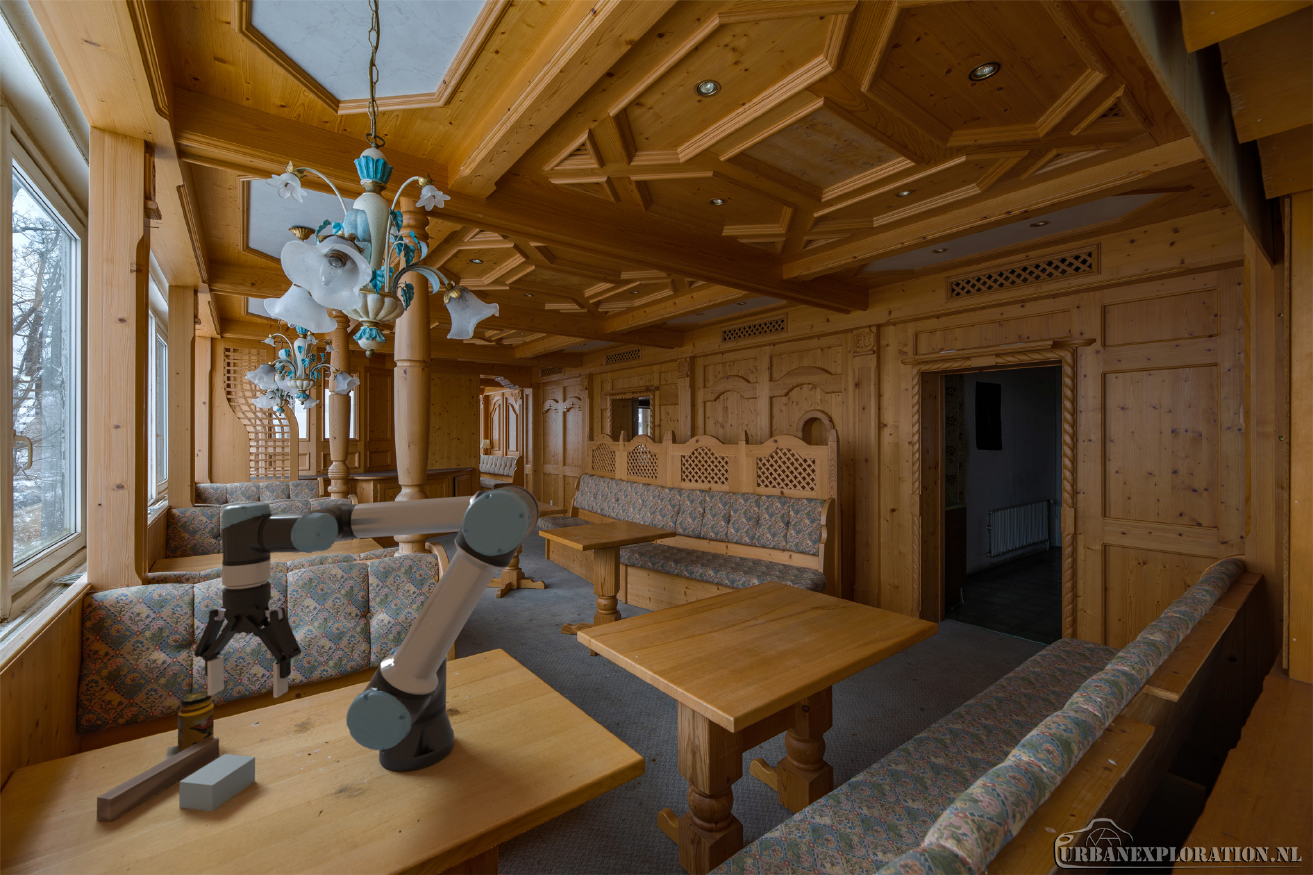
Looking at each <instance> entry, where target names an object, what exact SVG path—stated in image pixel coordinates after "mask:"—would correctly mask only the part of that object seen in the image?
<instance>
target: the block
mask: <svg viewBox="0 0 1313 875" xmlns="http://www.w3.org/2000/svg"><path fill="white" fill-rule="evenodd" d="M255 781H256V756H250V755H249V756H248V755H239V754H228V753H224V754H222V755H221V756H219V757H218V758H217V759H215V760H213V761H212V762H210V763H208V764H207V765H205V766H203V767H202V768H200V769H198V770H197V771H195V772H193V773H191V774H190V775H188V776H186V777H185V778H183V779H181V780H180V781H179V798H178V799H179V804H178V805H179V808H181V809H188V810H197V811H206V812H214V811H215V810H216V809H218V808H219V807H220V806H222V805H223V804H225V803H226V802H228V801H229V800H230V799H232V798H233V797H234V796H236V795H238V794H239V793H240V792H242V791H243V790H244V789H246V788H247V787H249V786H251V785H252V784H253V783H255Z"/></svg>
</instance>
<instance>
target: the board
mask: <svg viewBox="0 0 1313 875" xmlns="http://www.w3.org/2000/svg"><path fill="white" fill-rule="evenodd" d="M219 757H220V738H218V737H217V738H210V737H207V738H205V739H203V740H201V741H200V742H198V743H196V744H194V745H192V746H190V747H189V748H187V749H185V750H183V751H181V752H179V753H177V754H176V755H174V756H172V757H170V758H168V759H166V760H165V761H163V760H162V761H161V762H159V763H157V764H156V765H154V766H152V767H150V768H148V769H147V770H144V771H142V772H141V773H139V774H137V775H135V776H133V777H132V778H130V779H128V780H126V781H124V782H122V783H120V784H119V785H117V786H115V787H113V788H111V789H110V790H108V791H105V792H104V793H102V794H100V795H99V796H97V797H96V820H98V821H104V822H110V823H111V822H112V821H114V820H116V819H117V818H119V817H120V816H123V814H126V813H127V812H129V811H131V810H132V809H134V808H136V807H137V806H139V805H141V804H143V803H144V802H146V801H147V799H148V800H149V799H151V798H153V797H154V796H156V795H158V794H159V793H161V792H163V791H164V790H166V789H168V788H169V787H171V786H172V785H175V784H176V783H178V782H180V781H182V780H183V779H185V778H186V777H188V776H190V775H191V774H193V773H195V772H196V771H198V770H199V769H201V768H203V767H204V766H206V765H208V764H209V763H211V762H212V761H214V760H216V759H217V758H219ZM165 788H166V789H165ZM162 790H163V791H162ZM153 795H154V796H153Z"/></svg>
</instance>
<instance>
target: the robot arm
mask: <svg viewBox="0 0 1313 875" xmlns="http://www.w3.org/2000/svg"><path fill="white" fill-rule="evenodd" d="M221 516H222V517H221V518H222V519H221V527H220V531H221V533H220V534H221V546H222V548H221V549H222V561H221V565H222V566H221V567H222V568H221V569H222V572H221V574H222V576H221V580H222V581H221V584H222V585H223V586H224V588H222V591H221V592H222V595H221V600H222V606H219V607H215V608H213V609H210V610H209V613H208V621H207V623H206V626H205V628H204V631H203V633H202V634H201V636H200V639H199V642H198V644H197V646H196V647H195V650H194V653H193V656H194V657H195V658H199V657H200V658H202V660H203V661H204V670H205V671H204V675H205V677H207V691H208V695H210V696H211V695H212V696H213V695H216V694H217V693H219V692H221V691H223V690H224V689H225V688H224V687H225V679H224V678H225V676H224V675H225V672H224V671H225V669H224V667H225V666H224V665H225V664H224V658H225V657H224V655H222V654H223V653H222V651H223V650H224V649H225V647H226V646H227V645H229V642H230V641H231V640H232V639H233V637H234V636H235V635H236V634H241V633H244V634H247V635H248V634H249V635H250V634H253V635H254V636H255V637H258V638H259V640H261V642H262V643H263V645H264V646H265V647H266V649H267V650H268V651H269V652H270V653H271V655H272V656H273V657H274V659H275V660H276V661H275V662H273V663H272V672H273V676H272V682H273V685H272V686H273V687H272V688H273V690H272V691H273V693H272V694H273V697H272V698H275V699H276V698H279V697H280V696H283V695H284V694H285V693H287V692H289V677H290V676H291V673H292V670H291V669H292V659H293V658H295V657H298V656H299V655H301V654H302V649H301V647H300V645H299V643H298V641H297V639H296V637H295V634H294V633H293V630H292V627H291V626H290V624H289V622H288V619H287V616H286V615H287V614H286V609H285V607H283V606H281V607H278V608H275V609H270V607H269V603H270V601H271V600H272V599H271V598H272V582H270V581H269V580H270V579H271V578H272V577H271V573H272V572H271V555H272V554H273V553H275V554H276V553H305V554H312V553H314V552H315V553H316V552H317V553H318V552H325V551H328V550H329V549H331V548H332V547H333V545H334V544H335V543H336V541H341V540H342V541H343V540H344V541H345V540H355V539H367V538H378V537H381V538H382V537H392V536H393V537H395V536H396V537H397V536H411V535H422V534H436V533H437V534H438V533H452V532H453V533H454V532H458V533H457V535H456V536H455V538H454V544H455V548H456V552H455V554H454V555H453V557H452V559H451V561H450V562H449V563H448V566H447V567H446V568H445V570H444V572H443V574H442V575H441V576H440V579H439V580H438V582H437V583H436V586H434V589H433V591H432V592H431V593H430V596H429V597H428V599H427V601H426V602H425V604H424V606H423V607H422V609H421V611H419V614H418V616H417V618H416V619H415V621H414V622H413V624H412V626H411V628H410V629H409V631H408V632H407V634H406V636H405V637H404V640H403V641H402V642H401V644H400V645H399V646H396V647H394V648H392V649H391V650H390V651H389V654H388V656H386V657H385V658H383V660H381V663H380V664H379V665H378V667H377V669H376V670H375V672H374V674H373V676H372V677H371V679H370V681H369V682H368V684H367V685H366V686H365V688H364V689H363V691H362V692H360V693H358V694H357V696H355V698H354V699H353V701H352V702H351V703H350V705H349V706H348V709H347V712H346V718H345V720H346V727H347V728H348V730H349V734H350V736H351V737H352V738H353V740H354V741H355V742H356V743H357V744H359V745H360V746H362V747H363V748H366V749H368V750H372V751H378V761H379V764H380V765H381V766H382V767H383V768H384V769H387V770H390V771H395V772H397V771H398V772H406V771H414V770H420V769H423V768H427V767H429V766H431V765H434V764H436V763H438V762H440V761H441V760H443V759H445V758H446V757H447V756H448V755H450V753H451V752H452V750H453V749H454V747H455V746H454V745H455V733H454V729H453V727H452V724H451V721H450V719H449V716H448V712H447V664H448V663H447V661H448V657H447V655H448V654H449V651H450V650H451V648H452V646H453V645H454V642H456V640H457V638H458V636H459V635H460V633H461V632H462V630H463V628H464V626H465V625H466V624H467V623H466V622H467V621H468V619H469V618H470V616H471V615H472V613H473V611H474V609H475V607H476V606H477V604H478V603H479V601H480V599H481V597H482V596H483V594H484V592H485V591H486V589H487V588H488V586H489V584H490V582H491V581H492V579H493V577H494V575H495V574H496V572H497V571H500V570H503V569H507V568H508V567H509V565H510V563H511V562H512V560H513V558H514V557H515V555H516V553H517V552H518V550H519V549H520V547H521V545H522V544H523V542H524V540H525V538H527V536H529V535H530V534H531V533H532V531H533V530H534V529H535V528H536V526H537V525H538V522H539V519H540V505H539V501H538V500H537V498H536V497H535V495H534V494H533V493H532V492H531V491H530V490H528V489H527V488H525V487H523V486H519V485H507V486H502V487H500V488H495V489H494V488H493V489H488V490H486V489H485V490H478V491H477V492H476V493H475V494H474V495H466V496H465V495H464V496H454V497H453V496H452V497H438V498H437V497H436V498H422V499H409V500H408V499H407V500H397V501H396V500H394V501H393V500H391V501H381V502H365V503H354V504H353V503H347V502H346V503H345V502H344V503H337V504H332V505H330V506H326V507H322V508H321V507H320V508H318V509H317V508H316V509H312V510H307V511H303V512H297V513H296V512H294V513H273V512H272V510H271V507H270V504H268V503H265V502H249V503H238V504H237V503H236V504H232V505H228V506H226V507H225V508H224V509H223V510H222V515H221ZM225 620H226V622H227V623H225ZM224 623H225V624H224ZM223 625H225V626H224V627H223ZM220 632H221V633H220Z"/></svg>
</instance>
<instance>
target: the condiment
mask: <svg viewBox="0 0 1313 875" xmlns="http://www.w3.org/2000/svg"><path fill="white" fill-rule="evenodd" d="M212 696H213V695H211V696H210V695H208V690H201V691H195V692H191V693H188V694H186V695H185V696H183V697H182V698H181V700H180V705H179V706H180V707H179V709H180V710H179V711H178V713H177V745H172V746H169V747H168V748H167V751H166V753H165V756H167V757H165V756H164V758H165V759H164V758H163V760H162V762H163V761H165V760H166V759H168V758H170V757H172V756H174V755H176V754H177V753H179V752H181V751H183V750H185V749H187V748H189V747H190V746H192V745H194V744H196V743H198V742H200V741H201V740H203V739H205V738H207V737H210V738H218V736H215V735H214V734H215V733H214V731H215V730H214V726H215V725H214V723H215V722H214V721H215V720H214V718H215V714H214V711H215V710H214V709H215V705H214V703H213V699H212Z"/></svg>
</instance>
